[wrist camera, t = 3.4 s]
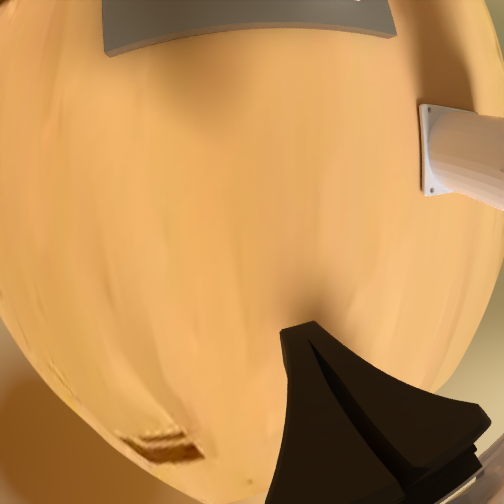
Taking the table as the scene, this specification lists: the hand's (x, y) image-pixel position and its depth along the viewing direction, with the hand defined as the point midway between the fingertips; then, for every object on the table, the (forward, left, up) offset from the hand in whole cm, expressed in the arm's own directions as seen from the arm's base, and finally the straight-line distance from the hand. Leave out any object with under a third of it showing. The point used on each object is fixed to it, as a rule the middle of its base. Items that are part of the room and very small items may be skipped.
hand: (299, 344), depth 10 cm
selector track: (-3, -19, -10) cm, 22 cm away
